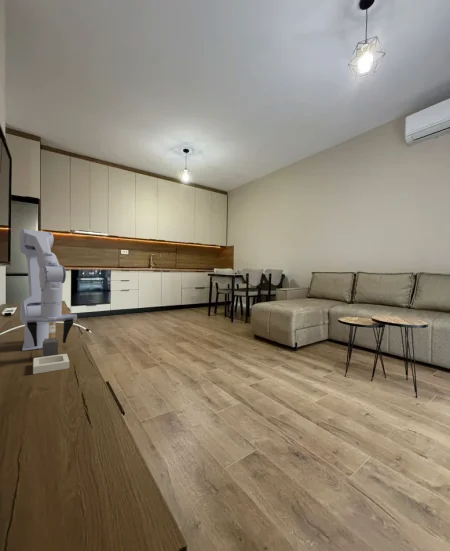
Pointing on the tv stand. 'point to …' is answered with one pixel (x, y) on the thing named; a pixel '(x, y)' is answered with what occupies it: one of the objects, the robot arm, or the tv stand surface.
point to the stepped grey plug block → (50, 347)
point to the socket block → (50, 363)
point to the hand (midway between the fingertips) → (50, 343)
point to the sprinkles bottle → (52, 329)
